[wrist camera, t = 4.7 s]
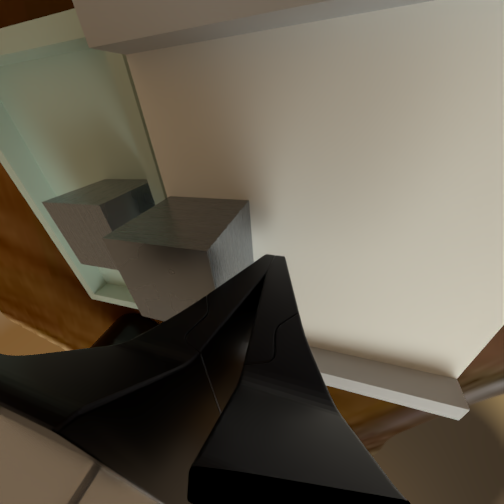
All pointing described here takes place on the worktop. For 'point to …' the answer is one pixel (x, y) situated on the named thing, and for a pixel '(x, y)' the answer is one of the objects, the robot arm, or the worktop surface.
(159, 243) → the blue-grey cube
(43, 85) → the tray
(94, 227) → the gray cube
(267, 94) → the channel
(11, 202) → the worktop surface
